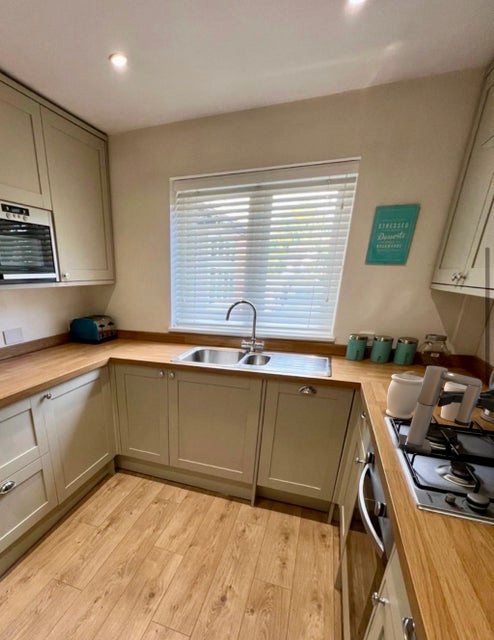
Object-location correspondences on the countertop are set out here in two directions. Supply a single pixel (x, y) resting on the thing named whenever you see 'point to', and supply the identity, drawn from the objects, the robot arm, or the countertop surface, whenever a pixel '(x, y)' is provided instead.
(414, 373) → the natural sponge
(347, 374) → the countertop surface
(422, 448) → the tap base
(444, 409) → the foam cup
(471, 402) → the spout
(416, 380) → the jar
